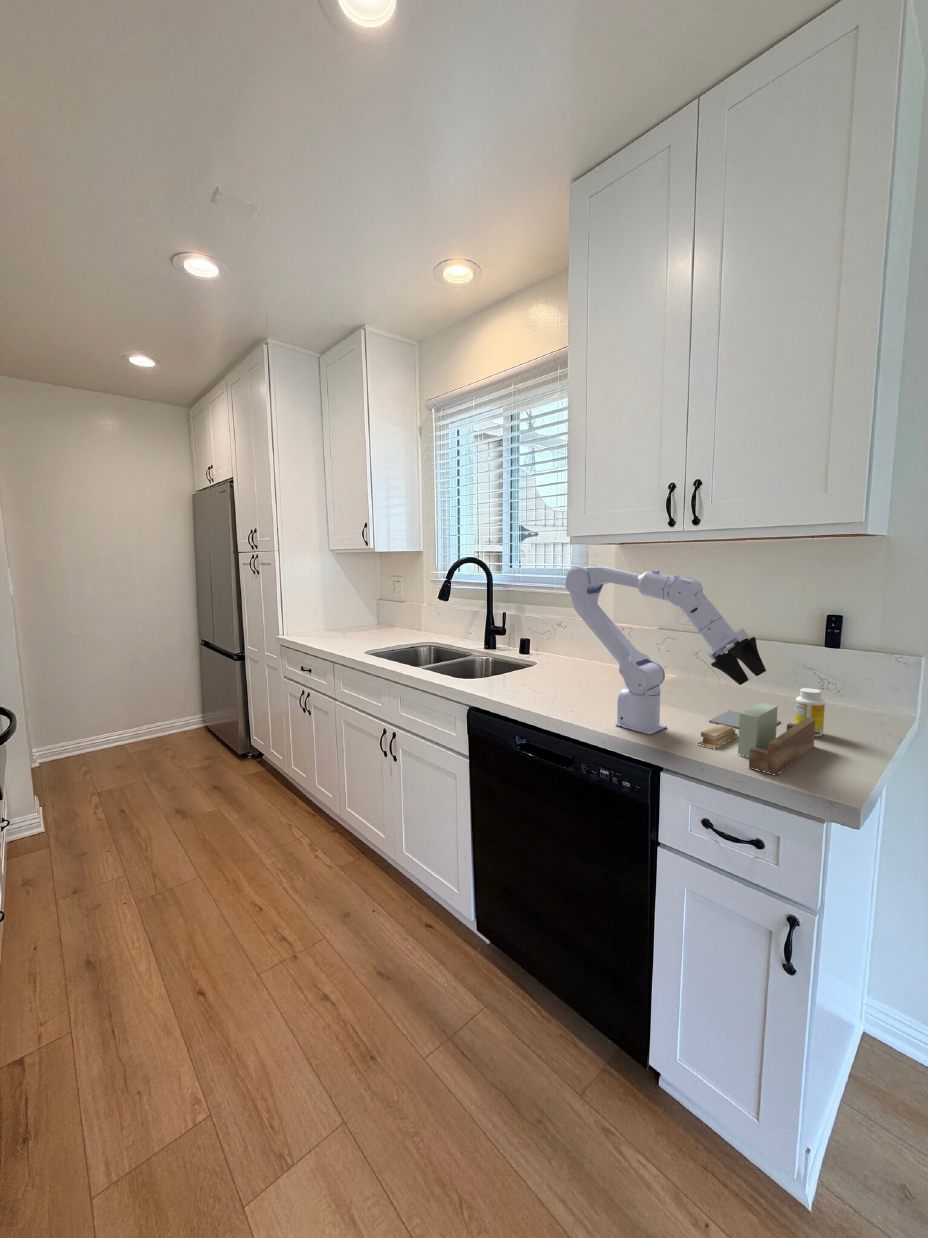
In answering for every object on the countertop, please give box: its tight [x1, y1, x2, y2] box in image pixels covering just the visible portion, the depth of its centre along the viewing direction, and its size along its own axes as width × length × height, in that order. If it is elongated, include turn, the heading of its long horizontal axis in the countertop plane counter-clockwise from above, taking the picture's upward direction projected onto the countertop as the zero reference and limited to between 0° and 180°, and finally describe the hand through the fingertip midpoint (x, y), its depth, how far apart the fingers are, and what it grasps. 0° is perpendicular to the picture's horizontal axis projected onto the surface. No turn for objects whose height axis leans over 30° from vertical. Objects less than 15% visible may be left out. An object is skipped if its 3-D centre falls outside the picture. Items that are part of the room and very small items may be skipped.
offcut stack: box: [697, 724, 739, 749], centre depth 114 cm, size 4×12×3 cm, turn 131°
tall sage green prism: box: [737, 702, 778, 757], centre depth 108 cm, size 3×11×9 cm, turn 131°
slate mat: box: [708, 710, 781, 730], centre depth 126 cm, size 12×12×1 cm
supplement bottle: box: [793, 687, 826, 738], centre depth 117 cm, size 6×6×10 cm
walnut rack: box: [748, 718, 815, 776], centre depth 104 cm, size 5×22×6 cm, turn 130°
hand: (752, 678), depth 106 cm, fingers open, 7 cm apart
